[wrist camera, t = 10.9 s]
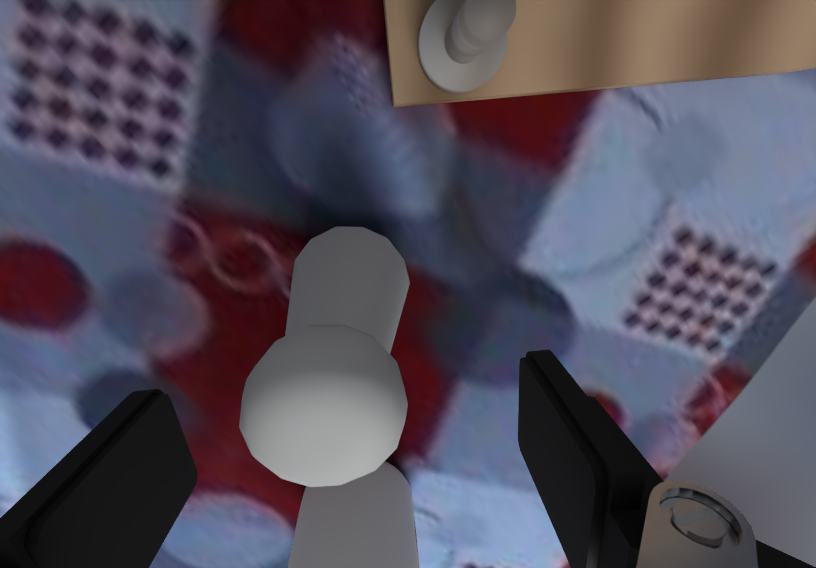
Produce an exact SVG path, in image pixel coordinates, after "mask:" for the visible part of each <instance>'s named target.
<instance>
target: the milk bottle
mask: <svg viewBox="0 0 816 568" xmlns="http://www.w3.org/2000/svg"><path fill="white" fill-rule="evenodd" d="M288 568H419V559H418V549H417V539H416V529H415V519H414V509H413V501H412V493H411V489H410V486H409V484H408V482H407V480H406V479H405V477H404V476H403V474H402V473H401V472H400V471H399V470H398V469H397V468H396V467H394V466H393V465H391V464H390V463H388V462H385V461H384V462H383V463H382V464H381V465H380V466H379V467H378V469H377V470H376V471H373V472H371V473H369V474H367V475H364V476H362V477H359V478H357V479H354V480H352V481H349V482H347V483H344V484H342V485H337V486H320V487H308V486H306V488H305V491H304V494H303V498H302V502H301V506H300V511H299V516H298V520H297V525H296V530H295V534H294V539H293V544H292V549H291V553H290V558H289V563H288Z"/></svg>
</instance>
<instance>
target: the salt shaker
mask: <svg viewBox="0 0 816 568" xmlns="http://www.w3.org/2000/svg"><path fill="white" fill-rule="evenodd" d="M409 284H410V282H409V278H408V274H407V270H406V266H405V262H404V259H403V257H402V256H401V255H400V254H399V252H398V251H397V250H396V249H395V247H394V246H393V245H392V243H391V242H390V241H389V240H388V238H386V237H384V236H382V235H380V234H377V233H375V232H373V231H371V230H368V229H366V228H364V227H338V226H337V227H334V228H332V229H330V230H328V231H326V232H324V233H322V234H320V235H318V236H316V237H314V238H312V239H310V241H309V242H308V243H307V245H306V246H305V247H304V249H303V250H302V251H301V253H300V254H299V255H298V256H297V258H296V259H295V263H294V270H293V277H292V284H291V294H290V302H289V310H288V317H287V325H286V333H285V337H283V338H281V339H279V340H277V341H275V342H274V344H273V345H272V346H271V347H270V348H269V350H268V351H267V352H266V353H265V355H264V356H263V357H262V358H261V360H260V361H259V362H258V363H257V364H256V366H255V367H254V369H253V370H252V372H251V373H250V375H249V376H248V378H247V379H246V383H245V387H244V392H243V396H242V404H241V414H240V424H239V428H240V430H241V433H242V435H243V437H244V439H245V441H246V443H247V446H248V448H249V450H250V452H251V454H252V456H253V457H254V458H256V459H257V460H258V461H259V462H260V463H262V464H263V465H264V466H266V467H267V468H268V469H269V470H271V471H272V472H273V473H275V474H276V475H277V476H279V477H280V478H281V479H285V480H288V481H291V482H295V483H298V484H301V485H305V486H308V487H320V486H337V485H342V484H344V483H347V482H349V481H352V480H354V479H357V478H359V477H362V476H364V475H367V474H369V473H371V472H373V471H376V470H377V469H378V467H379V466H380V465H381V464H382V463H383V462H384V461H385V460H386V459H387V458H388V457H389V456H390V455H391V454H392V453H393V452H394V451H395V450H396V449H397V446H398V443H399V440H400V436H401V433H402V430H403V427H404V424H405V420H406V413H407V406H408V403H407V398H406V394H405V389H404V386H403V382H402V378H401V375H400V371H399V367H398V364H397V362H396V361H395V359H394V358H393V357H392V356H391V355H390V352H391V349H392V345H393V341H394V338H395V334H396V331H397V327H398V324H399V320H400V316H401V313H402V309H403V306H404V302H405V299H406V295H407V292H408V288H409Z"/></svg>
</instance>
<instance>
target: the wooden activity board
mask: <svg viewBox="0 0 816 568" xmlns="http://www.w3.org/2000/svg"><path fill="white" fill-rule="evenodd" d="M383 3H384V14H385V25H386V36H387V47H388V58H389V69H390V80H391V91H392V102H393V107H402V106H414V105H425V104H437V103H448V102H460V101H471V100H482V99H494V98H505V97H517V96H528V95H540V94H551V93H563V92H574V91H585V90H597V89H608V88H620V87H631V86H643V85H654V84H665V83H677V82H688V81H700V80H711V79H723V78H734V77H745V76H757V75H768V74H780V73H787V72H793V71H799V70H805V69H811V68H815V67H816V0H383Z"/></svg>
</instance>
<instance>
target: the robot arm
mask: <svg viewBox="0 0 816 568" xmlns="http://www.w3.org/2000/svg"><path fill="white" fill-rule="evenodd" d="M518 442H519V447H520V450H521V453H522V455H523V458H524V460H525V462H526V465H527V467H528V469H529V472H530V474H531V476H532V478H533V481H534V483H535V485H536V488H537V490H538V492H539V495H540V497H541V499H542V502H543V504H544V506H545V508H546V511H547V513H548V515H549V518H550V520H551V522H552V525H553V527H554V529H555V532H556V534H557V536H558V538H559V541H560V543H561V545H562V548H563V550H564V552H565V555H566V557H567V559H568V562H569V564H570V566H571V568H816V567H814V566H812V565H809V564H807V563H805V562H803V561H801V560H798V559H796V558H794V557H792V556H790V555H788V554H786V553H783V552H781V551H779V550H777V549H775V548H772V547H770V546H768V545H766V544H764V543H762V542H760V541H757V540H756V539H755V536H754V533H753V529H752V527H751V525H750V524H749V522H748V521H747V519H746V518H745V517H744V515H743V514H742V513H741V512H740V511H739V510H738V509H737V508H736V507H735V506H734V505H733V504H732V503H730V502H729V501H727V500H726V499H725V498H723V497H722V496H720V495H718V494H717V493H715V492H713V491H711V490H709V489H707V488H705V487H702V486H700V485H696V484H692V483H689V482H686V481H673V480H672V481H667V482H664V481H663V480H662V479H661V478H660V476H659V475H658V474H657V473H656V471H655V470H654V469H653V468H652V467H651V465H650V464H649V463H648V462H647V460H646V459H645V458H644V457H643V456H642V454H641V453H640V452H639V451H638V449H637V448H636V447H635V446H634V445H633V443H632V442H631V441H630V440H629V439H628V437H627V436H626V435H625V434H624V432H623V431H622V430H621V429H620V428H619V426H618V425H617V424H616V423H615V421H614V420H613V419H612V418H611V417H610V415H609V414H608V413H607V412H606V411H605V409H604V408H603V407H602V406H601V404H600V403H599V402H598V401H597V400H596V399H595V398H593V397H591V396H589V397H587V396H586V394H585V393H584V392H583V390H582V389H581V388H580V387H579V385H578V384H577V383H576V382H575V380H574V379H573V378H572V377H571V375H570V374H569V373H568V372H567V370H566V369H565V368H564V367H563V365H562V364H561V363H560V362H559V360H558V359H557V358H556V356H555V355H554V354H553V353H552V352H551V351H550V350H540V351H530V352H527V354H526V357H525V358H521V359H520V368H519V416H518ZM197 477H198V476H197V469H196V466H195V464H194V461H193V458H192V456H191V453H190V450H189V448H188V445H187V442H186V439H185V437H184V434H183V431H182V429H181V426H180V423H179V421H178V418H177V415H176V412H175V410H174V407H173V404H172V402H171V399H170V397H169V396H168V395H167V394H164V393H163V392H162V391H161V390H159V389H153V390H143V391H135V392H132V393H131V394H130V395H129V396H128V397H126V398H125V399H124V400H123V401H122V402H121V403H120V404H119V405H118V406H117V407H116V408H115V409H114V410H113V411H112V412H111V413H110V414H109V415H108V416H107V417H106V418H105V419H103V420H102V421H101V422H100V423H99V424H98V425H97V426H96V427H95V428H94V429H93V430H92V431H91V432H90V433H89V434H88V435H87V436H86V437H85V438H84V439H83V440H82V441H81V442H79V443H78V444H77V445H76V446H75V447H74V448H73V449H72V450H71V451H70V452H69V453H68V454H67V455H66V456H65V457H64V458H63V459H62V460H61V461H60V462H59V463H58V464H56V465H55V466H54V467H53V468H52V469H51V470H50V471H49V472H48V473H47V474H46V475H45V476H44V477H43V478H42V479H41V480H40V481H39V482H38V483H37V484H36V485H35V486H34V487H32V488H31V489H30V490H29V491H28V492H27V493H26V494H25V495H24V496H23V497H22V498H21V499H20V500H19V501H18V502H17V503H16V504H15V505H14V506H13V507H12V508H11V509H9V510H8V511H7V512H6V513H5V514H4V515H3V516H2V517H1V518H0V568H149V566H150V564H151V563H152V561H153V559H154V557H155V556H156V554H157V552H158V550H159V549H160V547H161V545H162V543H163V542H164V540H165V538H166V536H167V535H168V533H169V531H170V529H171V528H172V526H173V524H174V522H175V521H176V519H177V517H178V515H179V514H180V512H181V510H182V508H183V507H184V505H185V503H186V501H187V500H188V498H189V496H190V494H191V493H192V491H193V489H194V487H195V485H196V482H197Z"/></svg>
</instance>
